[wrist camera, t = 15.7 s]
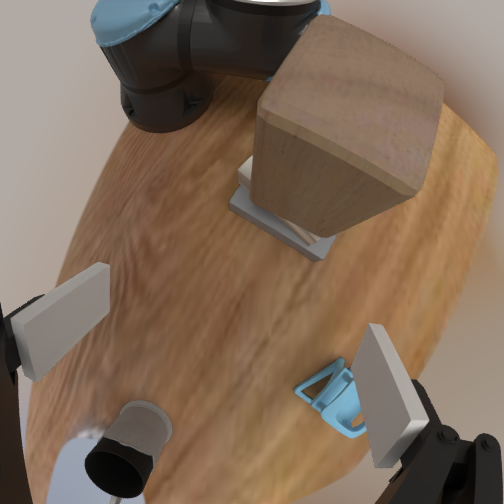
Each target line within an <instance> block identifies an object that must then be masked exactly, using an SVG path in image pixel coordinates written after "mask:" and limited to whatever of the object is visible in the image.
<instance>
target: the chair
mask: <svg viewBox="0 0 504 504" xmlns="http://www.w3.org/2000/svg"><path fill="white" fill-rule="evenodd" d="M344 363H345V360H344V359H343V358H342V357H340V358H338V359H337V360H336V361H335V362H333V363H332V364H331V365H329V366H328V367H326V368H325V369H323V370H322V371H320V372H318V373H317V374H315V375H313V376H312V377H310V378H308V379H307V380H305V381H304V382H302V383H300V384H299V385H298V386H296V387H295V388H294V391H295V393H296V394H297V395H298V396H300V397H301V398H302V399H304V400H305V401H307V402H308V403H309V404H310V405H311V406H312V407H313V408H315V409H316V410H318V411H319V412H320V413H321V417H322V418H323V419H324V420H325V421H326V422H327V423H328V424H330V425H331V426H332V427H333V428H335V429H336V430H338V431H339V432H340V433H342V434H344V435H345V436H347V437H349V438H355V437H357V436H359V435H360V434H362V433H364V432H365V431H367V430H366V426H365V422H363V423H361V424H360V425H358V426H356V427H353V428H352V426H351V422H352V421H353V419H354V418H355V417H356V416H357V415H358V414H359V413H360V411H361V406H360V402H359V398H358V394H357V390H356V386H355V382H354V379H353V375H352V371H351V368H349V369H346V368H345V367H344V366H343V365H344ZM333 372H334V373H333ZM331 373H333V375H332V377H331V378H330V380H329V382H328V383H327V384H326V386H325V387H324V388H323V390H322V391H321V392H320V393H319V394H318V395H317V396H316V397H315V398H314V399H313V400H312V399H311V398H309V397H308V396H307V395H305V394H304V393H303V392H301V390H303V389H304V388H306V387H308V386H310V385H312V384H314V383H315V382H317V381H319V380H321V379H323V378H324V377H326V376H328V375H329V374H331Z"/></svg>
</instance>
